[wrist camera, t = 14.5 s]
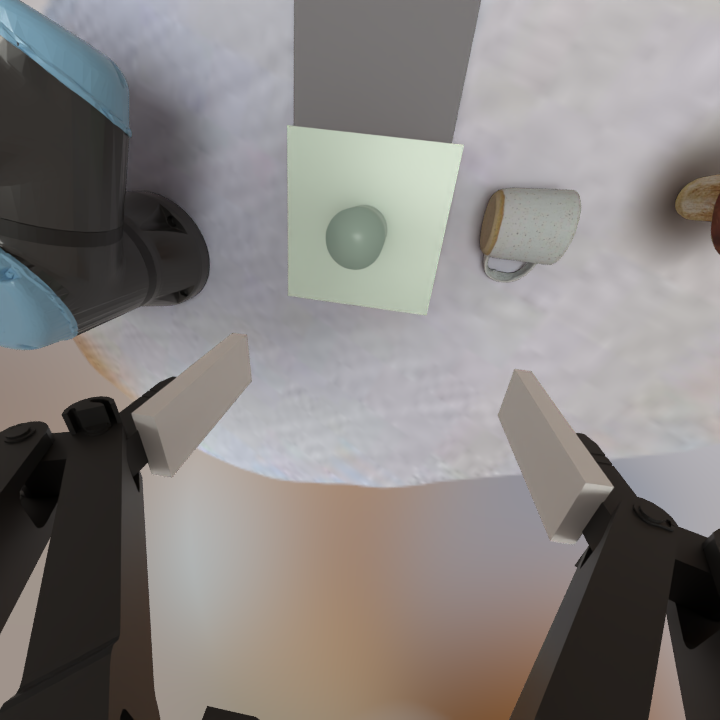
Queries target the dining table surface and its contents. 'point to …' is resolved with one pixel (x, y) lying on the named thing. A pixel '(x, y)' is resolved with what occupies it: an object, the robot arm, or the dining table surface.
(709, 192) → the decorative mushroom
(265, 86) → the dining table surface
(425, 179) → the lid
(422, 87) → the mat
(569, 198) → the ceramic mug
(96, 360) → the dining table surface
